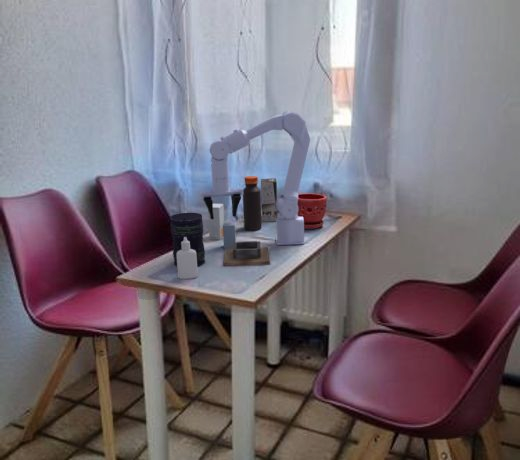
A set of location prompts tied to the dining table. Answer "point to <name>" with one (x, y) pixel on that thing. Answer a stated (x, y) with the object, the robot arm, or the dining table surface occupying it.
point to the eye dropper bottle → (186, 261)
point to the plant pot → (312, 209)
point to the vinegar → (252, 204)
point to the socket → (246, 254)
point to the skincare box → (216, 222)
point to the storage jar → (188, 234)
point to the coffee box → (269, 199)
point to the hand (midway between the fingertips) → (223, 217)
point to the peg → (229, 234)
